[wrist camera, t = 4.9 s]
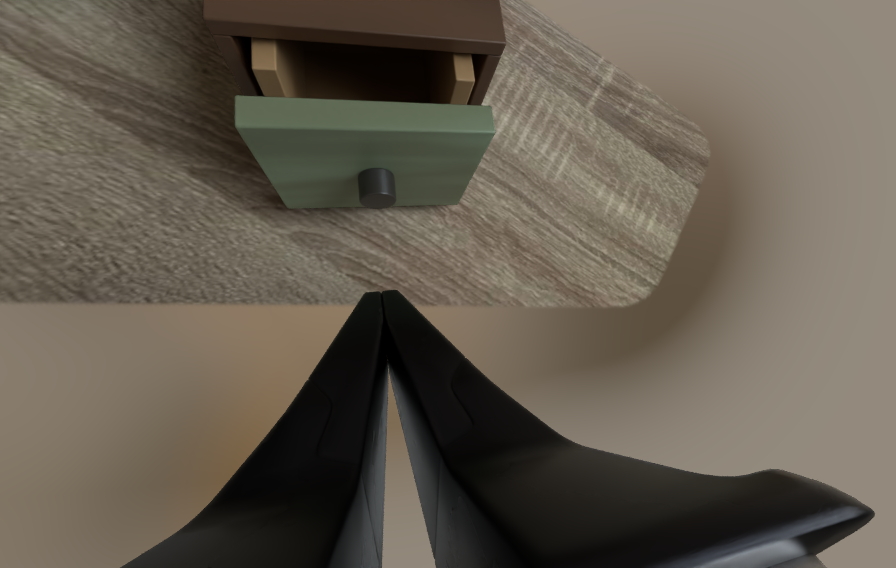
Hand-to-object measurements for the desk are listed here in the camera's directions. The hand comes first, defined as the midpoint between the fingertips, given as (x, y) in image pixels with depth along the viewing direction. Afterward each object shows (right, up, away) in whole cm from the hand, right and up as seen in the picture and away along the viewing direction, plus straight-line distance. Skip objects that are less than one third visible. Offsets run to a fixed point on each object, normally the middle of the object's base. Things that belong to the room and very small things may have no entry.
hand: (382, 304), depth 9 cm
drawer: (-3, +9, +10) cm, 13 cm away
